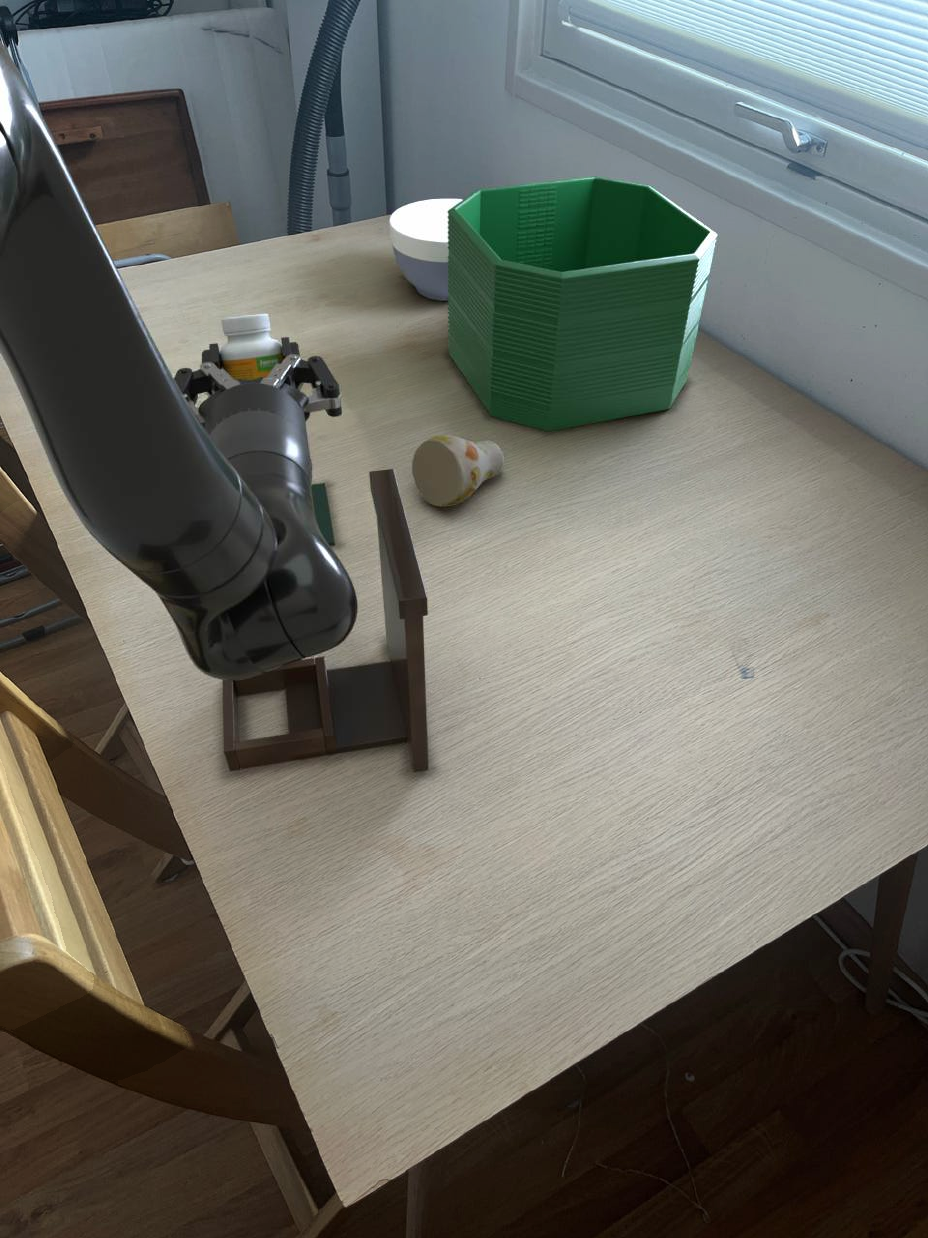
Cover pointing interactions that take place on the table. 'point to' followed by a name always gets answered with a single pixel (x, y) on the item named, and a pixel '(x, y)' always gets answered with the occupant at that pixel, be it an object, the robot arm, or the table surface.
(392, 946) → the table surface
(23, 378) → the robot arm
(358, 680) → the stand
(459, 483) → the fruit print bud vase
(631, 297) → the planter
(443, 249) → the bowl
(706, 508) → the table surface
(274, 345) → the supplement bottle
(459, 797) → the table surface
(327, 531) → the rubber mat
